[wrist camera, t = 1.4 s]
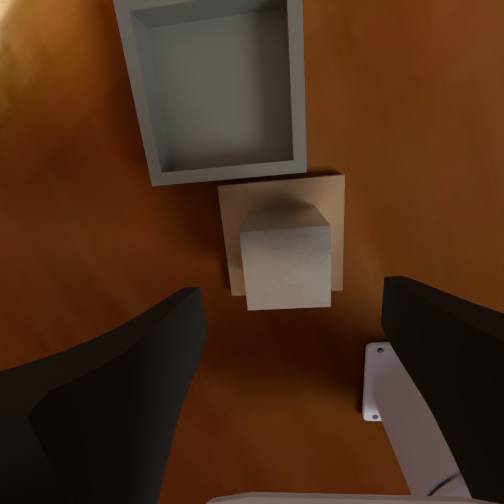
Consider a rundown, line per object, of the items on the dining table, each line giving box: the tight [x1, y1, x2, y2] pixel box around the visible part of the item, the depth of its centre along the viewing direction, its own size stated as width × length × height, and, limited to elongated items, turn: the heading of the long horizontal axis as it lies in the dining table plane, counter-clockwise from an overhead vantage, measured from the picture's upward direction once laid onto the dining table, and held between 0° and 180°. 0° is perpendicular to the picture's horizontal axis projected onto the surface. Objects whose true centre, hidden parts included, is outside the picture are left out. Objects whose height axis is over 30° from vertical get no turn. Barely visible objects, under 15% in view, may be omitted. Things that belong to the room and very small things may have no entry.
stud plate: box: [217, 174, 345, 296], centre depth 18 cm, size 8×8×3 cm
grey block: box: [239, 206, 331, 310], centre depth 16 cm, size 4×4×5 cm
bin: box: [113, 0, 307, 186], centre depth 15 cm, size 9×9×3 cm
